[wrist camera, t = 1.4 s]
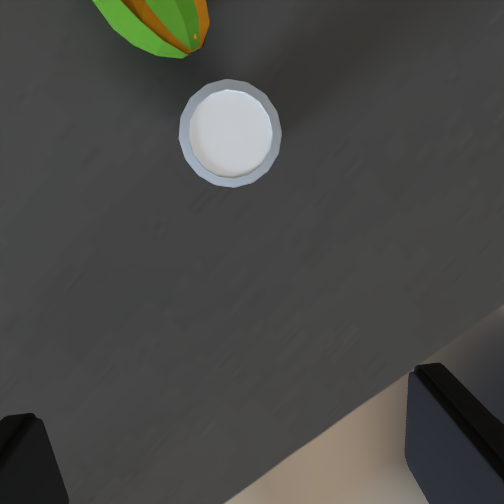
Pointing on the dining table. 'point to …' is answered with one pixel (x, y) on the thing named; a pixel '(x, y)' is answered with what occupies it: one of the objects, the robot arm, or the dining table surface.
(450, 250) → the dining table surface
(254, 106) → the shot glass
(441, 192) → the dining table surface
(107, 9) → the corn
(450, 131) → the dining table surface
